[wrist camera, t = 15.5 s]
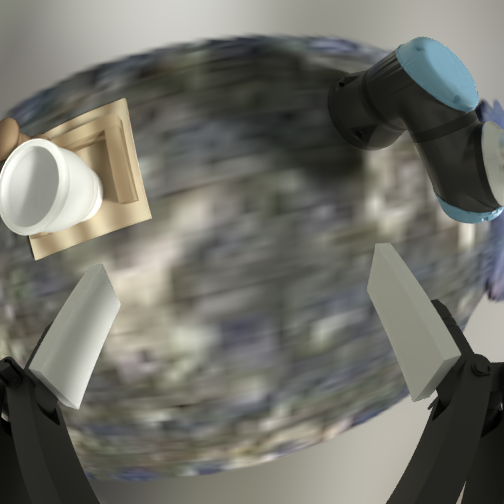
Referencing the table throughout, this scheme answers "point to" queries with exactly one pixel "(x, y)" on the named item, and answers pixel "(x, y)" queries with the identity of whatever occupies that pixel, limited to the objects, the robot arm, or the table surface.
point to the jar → (47, 189)
